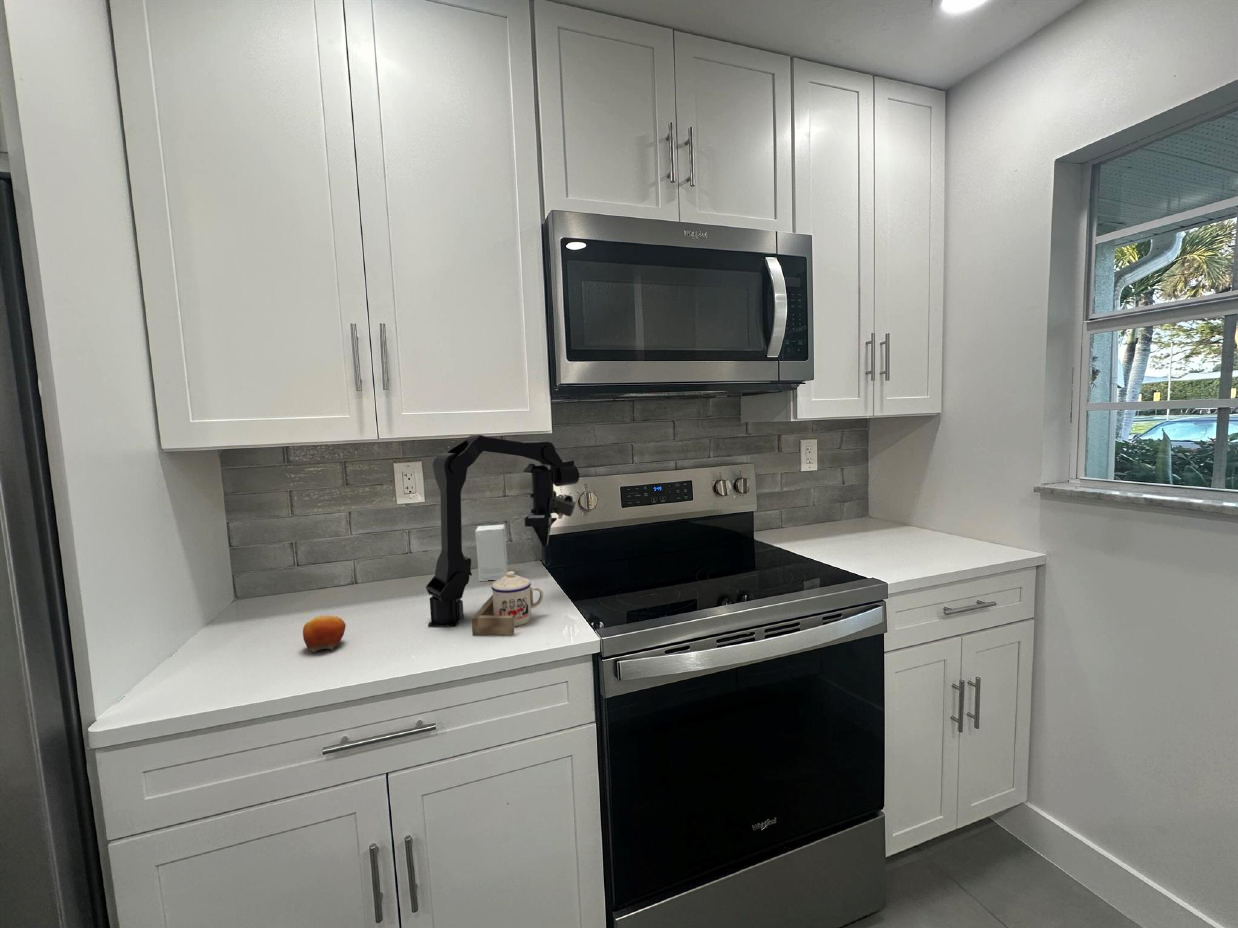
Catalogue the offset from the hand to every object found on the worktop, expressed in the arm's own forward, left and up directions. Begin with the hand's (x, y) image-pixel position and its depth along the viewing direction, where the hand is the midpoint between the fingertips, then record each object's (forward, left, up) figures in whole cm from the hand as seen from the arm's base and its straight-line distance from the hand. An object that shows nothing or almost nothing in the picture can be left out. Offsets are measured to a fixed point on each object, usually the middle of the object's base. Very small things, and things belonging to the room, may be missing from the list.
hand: (545, 546), depth 146 cm
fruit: (-41, -34, -13) cm, 55 cm away
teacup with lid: (-3, -19, -13) cm, 23 cm away
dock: (-7, -18, -13) cm, 23 cm away
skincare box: (-19, +14, -13) cm, 27 cm away
